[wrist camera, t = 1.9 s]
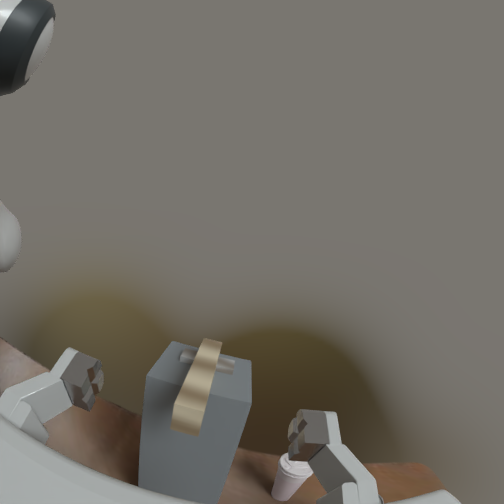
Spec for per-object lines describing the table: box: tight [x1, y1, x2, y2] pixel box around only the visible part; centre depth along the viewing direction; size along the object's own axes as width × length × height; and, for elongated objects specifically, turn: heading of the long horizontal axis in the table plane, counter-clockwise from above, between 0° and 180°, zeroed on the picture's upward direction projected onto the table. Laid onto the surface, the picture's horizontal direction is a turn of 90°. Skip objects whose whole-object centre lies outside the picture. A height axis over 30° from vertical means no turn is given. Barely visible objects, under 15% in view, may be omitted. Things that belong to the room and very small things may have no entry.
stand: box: [138, 341, 252, 504], centre depth 35 cm, size 12×12×26 cm
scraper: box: [170, 338, 235, 437], centre depth 29 cm, size 17×7×3 cm, turn 0°
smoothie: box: [271, 453, 313, 501], centre depth 38 cm, size 6×6×14 cm
